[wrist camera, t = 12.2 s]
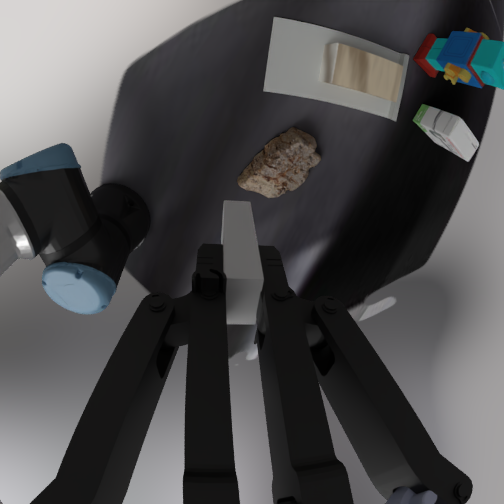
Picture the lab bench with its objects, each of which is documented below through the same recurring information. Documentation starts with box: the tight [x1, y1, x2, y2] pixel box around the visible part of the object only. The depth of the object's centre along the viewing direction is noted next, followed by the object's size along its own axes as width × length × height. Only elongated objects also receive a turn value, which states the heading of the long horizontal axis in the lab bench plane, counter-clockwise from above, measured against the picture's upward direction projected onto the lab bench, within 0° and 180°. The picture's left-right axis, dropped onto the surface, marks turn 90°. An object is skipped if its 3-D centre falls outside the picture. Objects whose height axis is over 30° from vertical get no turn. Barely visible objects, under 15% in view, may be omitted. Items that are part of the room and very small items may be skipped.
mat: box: [263, 17, 409, 121], centre depth 38 cm, size 25×14×2 cm, turn 83°
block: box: [319, 43, 403, 102], centre depth 36 cm, size 6×7×12 cm
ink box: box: [413, 104, 479, 162], centre depth 40 cm, size 9×5×12 cm, turn 62°
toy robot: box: [413, 28, 504, 89], centre depth 25 cm, size 12×6×25 cm, turn 152°
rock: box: [237, 127, 321, 198], centre depth 48 cm, size 15×10×6 cm
